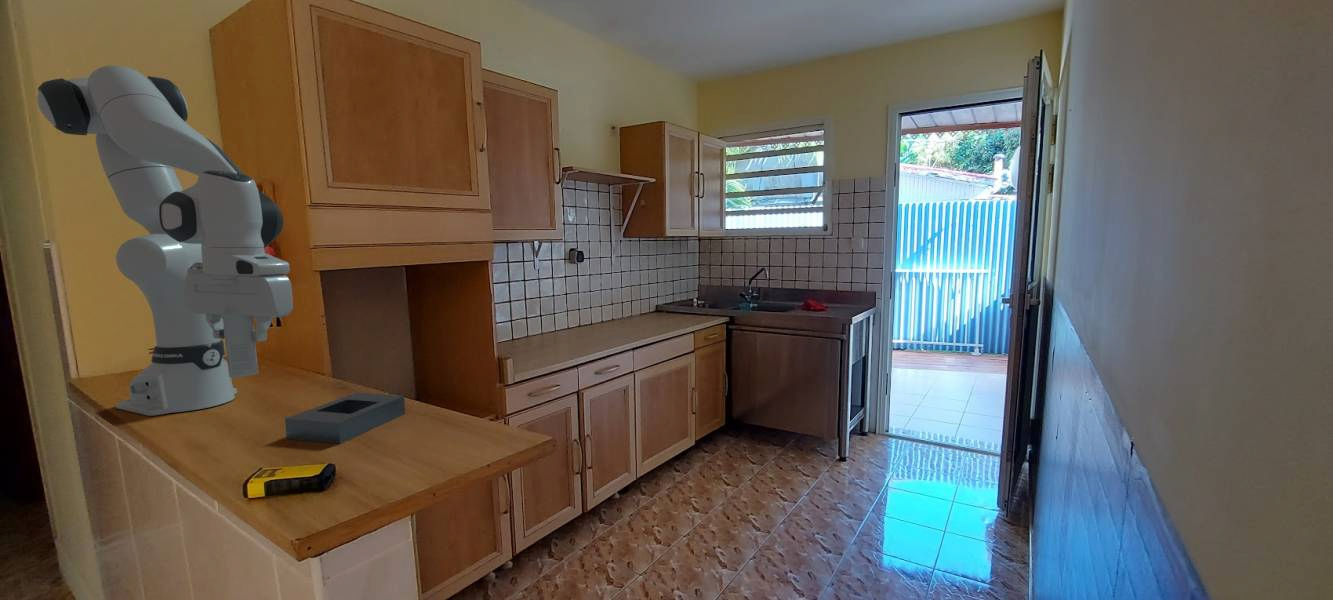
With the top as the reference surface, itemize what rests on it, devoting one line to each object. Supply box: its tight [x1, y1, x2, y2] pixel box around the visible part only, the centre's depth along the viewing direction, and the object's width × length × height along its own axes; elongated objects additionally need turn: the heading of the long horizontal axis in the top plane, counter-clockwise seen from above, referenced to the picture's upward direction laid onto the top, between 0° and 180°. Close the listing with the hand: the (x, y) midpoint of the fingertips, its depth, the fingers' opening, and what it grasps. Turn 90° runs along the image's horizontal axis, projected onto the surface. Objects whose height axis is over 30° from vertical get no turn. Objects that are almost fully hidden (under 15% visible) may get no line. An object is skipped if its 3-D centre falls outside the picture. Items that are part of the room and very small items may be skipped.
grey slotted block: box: [284, 392, 406, 445], centre depth 111 cm, size 12×18×4 cm, turn 168°
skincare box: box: [222, 310, 259, 379], centre depth 98 cm, size 6×4×12 cm
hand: (240, 339), depth 98 cm, fingers closed on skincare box, 7 cm apart
